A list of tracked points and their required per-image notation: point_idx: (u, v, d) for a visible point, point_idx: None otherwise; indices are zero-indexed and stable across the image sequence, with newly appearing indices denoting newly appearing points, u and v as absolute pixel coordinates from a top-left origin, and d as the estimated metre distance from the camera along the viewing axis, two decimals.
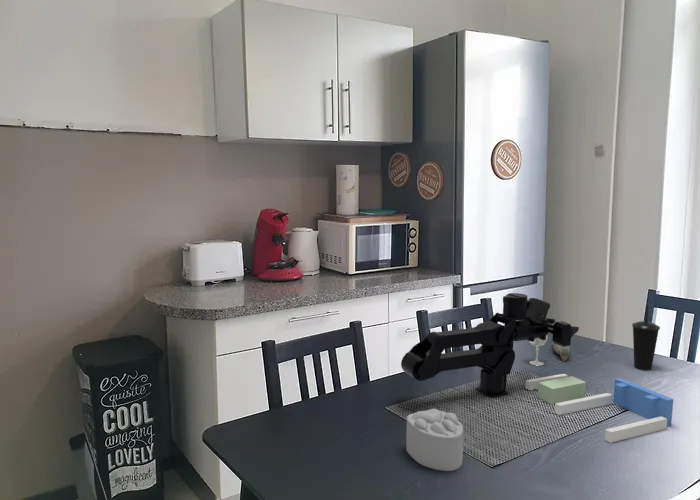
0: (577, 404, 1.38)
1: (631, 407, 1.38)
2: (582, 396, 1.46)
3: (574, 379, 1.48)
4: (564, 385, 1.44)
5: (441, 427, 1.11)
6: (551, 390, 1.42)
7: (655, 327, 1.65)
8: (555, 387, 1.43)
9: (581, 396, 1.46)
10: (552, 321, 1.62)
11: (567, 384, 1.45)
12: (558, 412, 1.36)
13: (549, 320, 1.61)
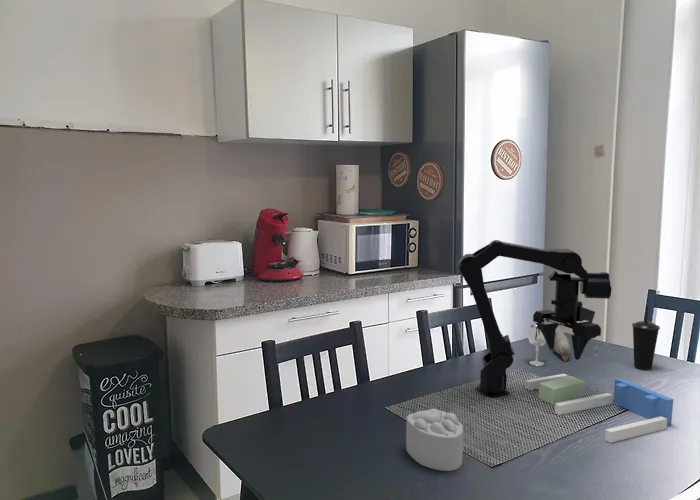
0: (577, 404, 1.38)
1: (631, 407, 1.38)
2: (581, 395, 1.47)
3: (573, 378, 1.49)
4: (565, 385, 1.44)
5: (441, 427, 1.11)
6: (553, 390, 1.42)
7: (655, 327, 1.65)
8: (557, 387, 1.43)
9: (580, 395, 1.47)
10: (552, 346, 1.49)
11: (567, 384, 1.45)
12: (558, 412, 1.36)
13: (553, 342, 1.49)
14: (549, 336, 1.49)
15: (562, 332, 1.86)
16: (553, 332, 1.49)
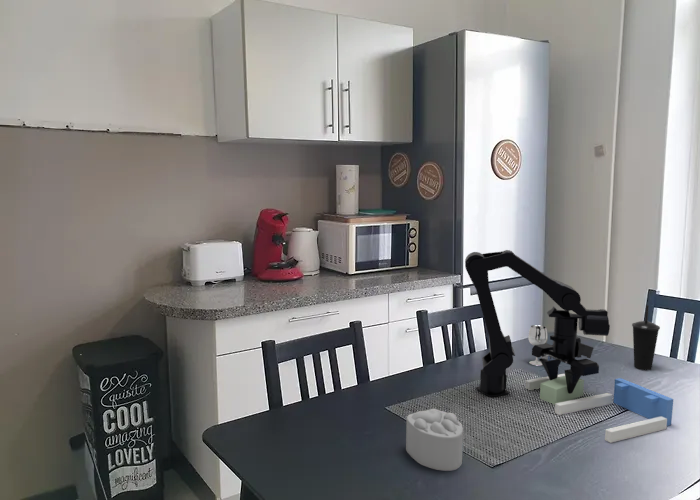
0: (577, 404, 1.38)
1: (631, 407, 1.38)
2: (580, 394, 1.47)
3: None
4: (566, 384, 1.44)
5: (441, 427, 1.11)
6: (555, 391, 1.41)
7: (655, 327, 1.65)
8: (559, 387, 1.42)
9: (580, 394, 1.47)
10: None
11: None
12: (558, 412, 1.36)
13: None
14: (551, 372, 1.49)
15: None
16: (556, 368, 1.49)
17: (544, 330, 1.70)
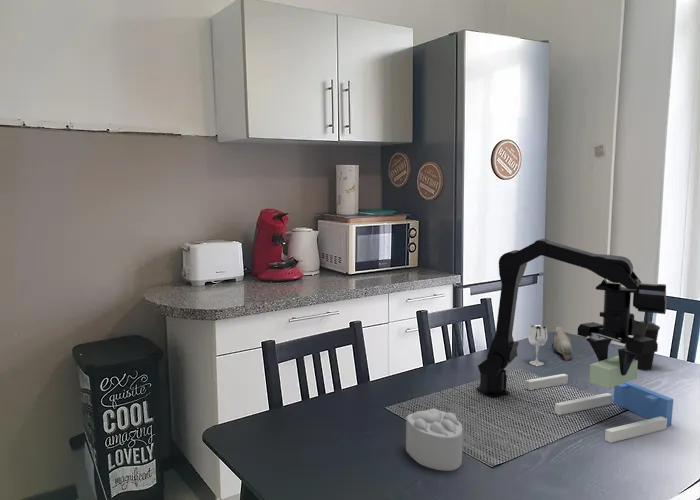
0: (577, 404, 1.38)
1: (631, 407, 1.38)
2: (634, 376, 1.33)
3: None
4: (618, 365, 1.30)
5: (440, 427, 1.11)
6: (608, 371, 1.27)
7: (655, 327, 1.65)
8: (611, 367, 1.29)
9: (633, 376, 1.33)
10: None
11: None
12: (558, 412, 1.36)
13: None
14: (601, 353, 1.35)
15: (562, 331, 1.87)
16: (606, 349, 1.35)
17: (544, 330, 1.70)
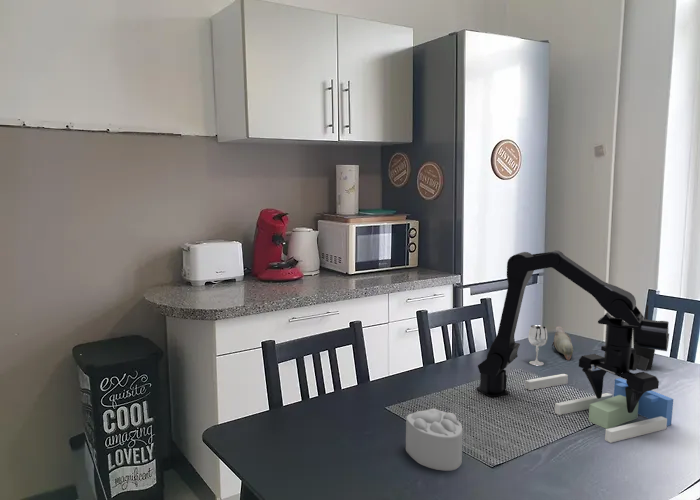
0: (577, 404, 1.38)
1: None
2: (635, 417, 1.33)
3: (624, 398, 1.35)
4: (618, 406, 1.30)
5: (440, 426, 1.11)
6: (607, 413, 1.28)
7: None
8: (610, 409, 1.29)
9: (634, 417, 1.33)
10: (599, 394, 1.37)
11: (620, 405, 1.31)
12: (558, 412, 1.36)
13: (601, 390, 1.37)
14: (596, 383, 1.36)
15: (563, 331, 1.87)
16: (601, 379, 1.37)
17: (544, 330, 1.70)
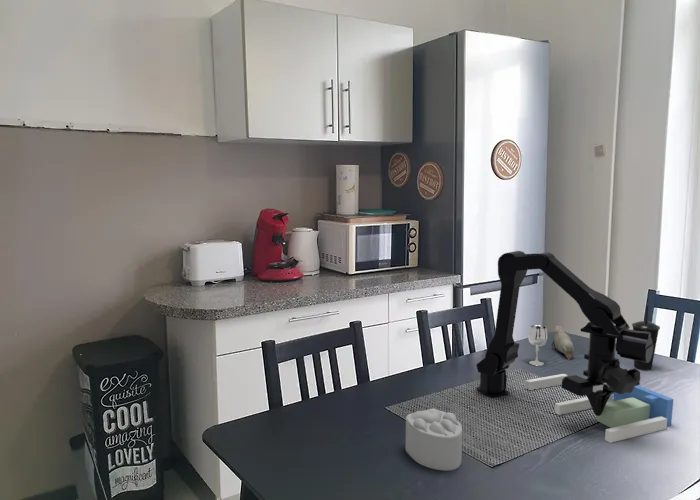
0: (577, 404, 1.38)
1: None
2: None
3: (636, 401, 1.34)
4: (626, 408, 1.30)
5: (440, 426, 1.11)
6: (613, 414, 1.28)
7: (655, 327, 1.65)
8: (617, 410, 1.29)
9: None
10: None
11: (629, 407, 1.31)
12: (558, 412, 1.36)
13: None
14: None
15: (563, 330, 1.88)
16: (602, 397, 1.30)
17: (544, 330, 1.70)
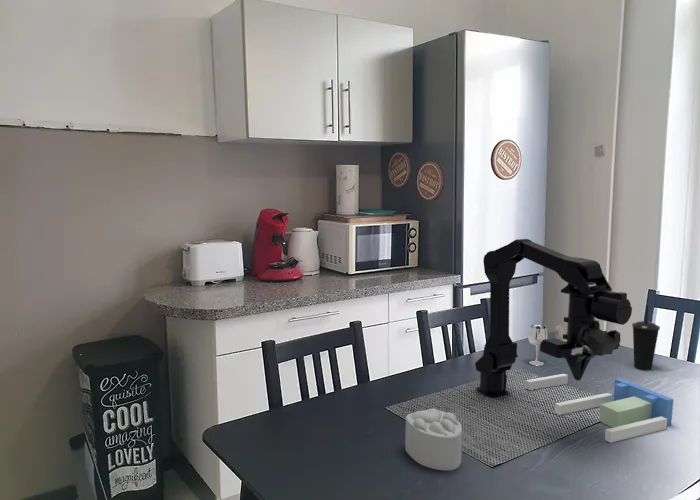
0: (577, 404, 1.38)
1: None
2: None
3: (638, 400, 1.34)
4: (629, 407, 1.30)
5: (440, 426, 1.11)
6: (616, 413, 1.28)
7: (655, 327, 1.65)
8: (621, 409, 1.29)
9: (647, 419, 1.32)
10: None
11: (632, 406, 1.31)
12: (558, 412, 1.36)
13: None
14: None
15: (563, 330, 1.88)
16: (582, 361, 1.26)
17: (544, 330, 1.70)
